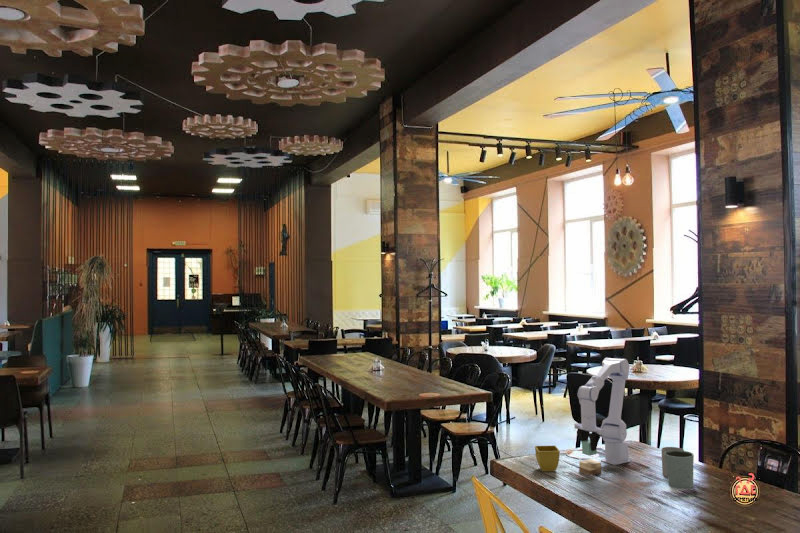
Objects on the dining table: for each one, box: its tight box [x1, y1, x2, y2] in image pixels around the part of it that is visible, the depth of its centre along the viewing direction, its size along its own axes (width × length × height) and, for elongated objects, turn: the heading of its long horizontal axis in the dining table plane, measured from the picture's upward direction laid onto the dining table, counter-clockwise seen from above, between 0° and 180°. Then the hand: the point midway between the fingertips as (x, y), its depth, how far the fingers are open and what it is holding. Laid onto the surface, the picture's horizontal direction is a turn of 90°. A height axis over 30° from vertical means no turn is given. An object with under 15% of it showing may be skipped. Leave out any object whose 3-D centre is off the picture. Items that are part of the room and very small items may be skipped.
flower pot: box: [534, 445, 561, 472], centre depth 273 cm, size 9×9×9 cm
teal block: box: [581, 439, 598, 456], centre depth 269 cm, size 4×4×5 cm
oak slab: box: [578, 458, 602, 471], centre depth 269 cm, size 6×6×2 cm
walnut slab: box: [578, 467, 602, 476], centre depth 269 cm, size 6×6×2 cm
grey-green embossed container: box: [665, 450, 695, 490], centre depth 249 cm, size 10×10×12 cm
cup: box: [661, 446, 685, 478], centre depth 262 cm, size 8×8×10 cm
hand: (589, 449), depth 269 cm, fingers closed on teal block, 4 cm apart
